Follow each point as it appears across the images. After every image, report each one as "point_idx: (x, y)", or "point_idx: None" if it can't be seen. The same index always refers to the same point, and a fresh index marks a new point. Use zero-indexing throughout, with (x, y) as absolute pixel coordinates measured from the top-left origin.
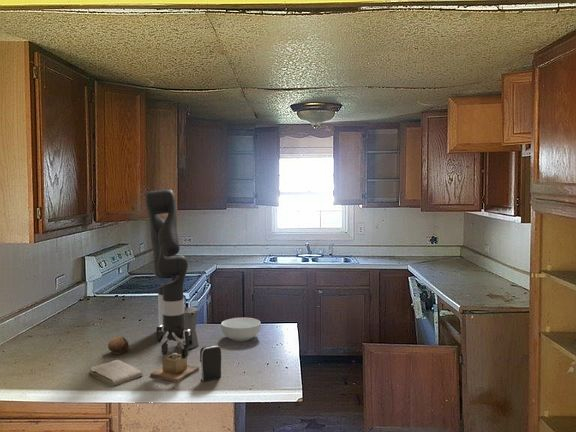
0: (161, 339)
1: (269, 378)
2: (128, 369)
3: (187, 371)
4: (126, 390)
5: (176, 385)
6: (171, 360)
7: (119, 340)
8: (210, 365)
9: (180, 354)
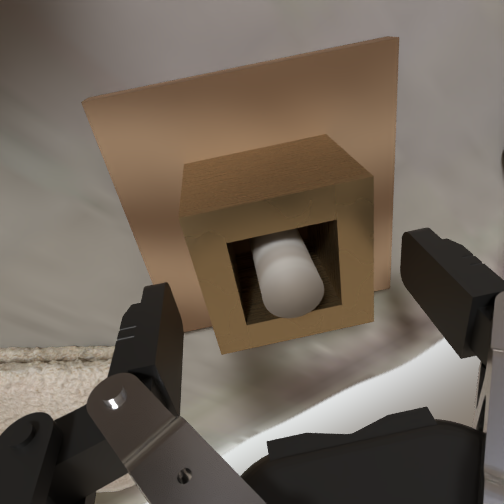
0: (86, 479)
1: None
2: (59, 417)
3: (366, 169)
4: (233, 441)
5: (401, 301)
6: (323, 330)
7: None
8: None
9: (291, 202)
